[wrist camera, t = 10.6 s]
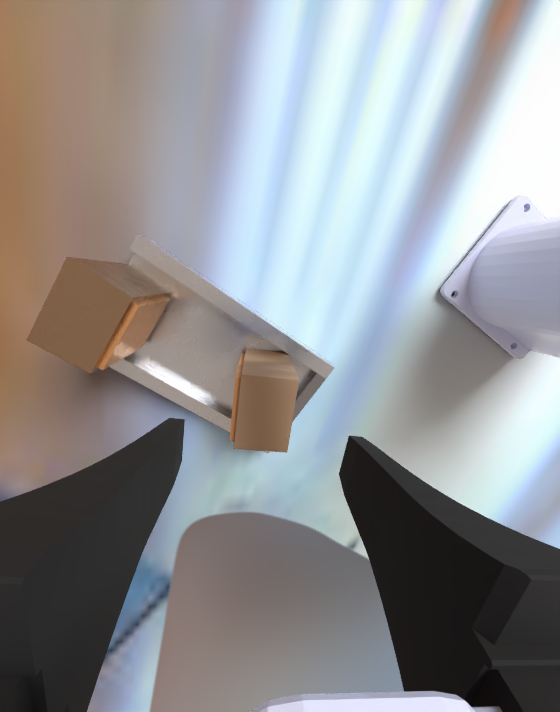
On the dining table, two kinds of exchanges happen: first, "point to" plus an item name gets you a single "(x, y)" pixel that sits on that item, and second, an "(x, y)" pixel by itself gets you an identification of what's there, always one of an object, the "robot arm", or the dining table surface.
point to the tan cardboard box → (263, 401)
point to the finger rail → (164, 330)
